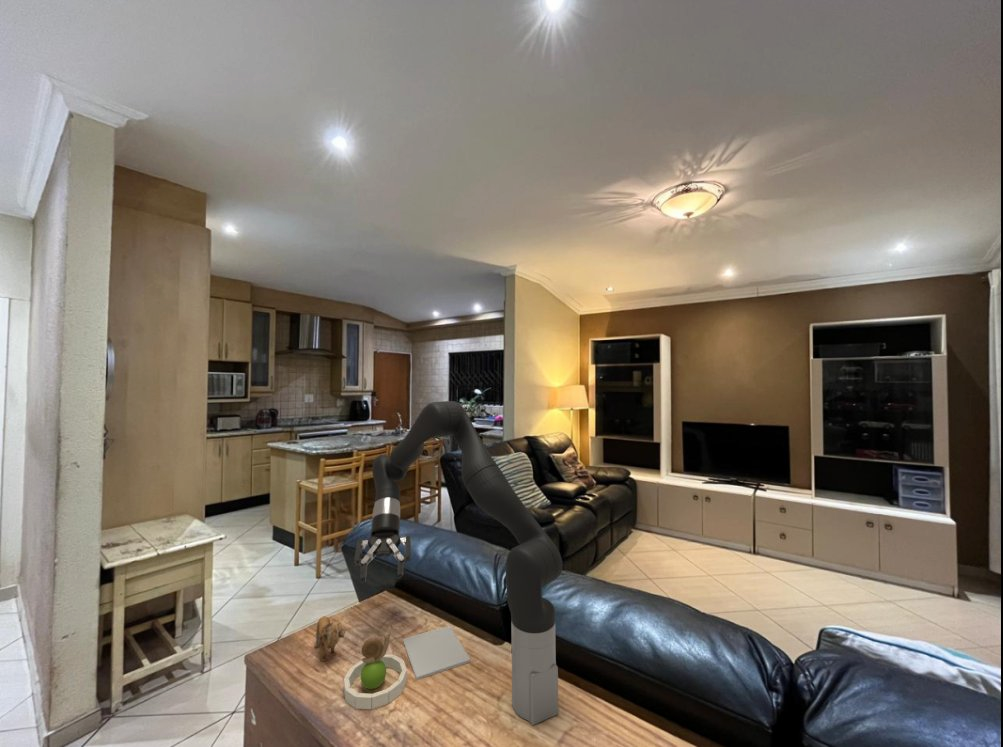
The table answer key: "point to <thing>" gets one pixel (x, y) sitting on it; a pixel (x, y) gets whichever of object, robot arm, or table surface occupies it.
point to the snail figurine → (374, 661)
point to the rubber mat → (435, 652)
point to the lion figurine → (328, 636)
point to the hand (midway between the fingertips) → (381, 579)
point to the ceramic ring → (379, 697)
